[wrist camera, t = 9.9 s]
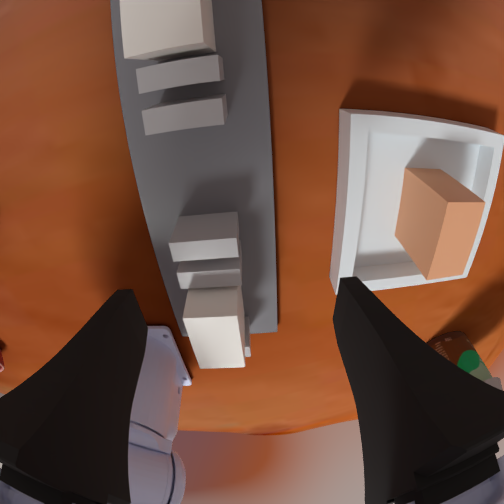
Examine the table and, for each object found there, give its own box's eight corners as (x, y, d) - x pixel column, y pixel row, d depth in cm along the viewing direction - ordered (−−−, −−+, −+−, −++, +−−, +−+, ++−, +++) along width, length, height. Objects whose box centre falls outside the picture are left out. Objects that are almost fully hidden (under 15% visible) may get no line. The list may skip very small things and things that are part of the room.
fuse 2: (244, 313, 23) (245, 367, 18) (205, 315, 23) (200, 368, 19) (238, 260, 20) (237, 315, 16) (193, 263, 20) (182, 318, 16)
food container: (479, 345, 30) (507, 402, 22) (444, 370, 32) (468, 429, 24) (463, 307, 25) (505, 381, 17) (418, 340, 27) (451, 418, 19)
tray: (455, 263, 21) (466, 277, 20) (329, 276, 22) (335, 294, 20) (487, 127, 15) (504, 135, 13) (339, 108, 15) (350, 113, 13)
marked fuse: (428, 232, 19) (462, 274, 15) (394, 235, 19) (426, 280, 15) (440, 169, 16) (485, 202, 12) (404, 167, 16) (447, 202, 12)
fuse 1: (216, 51, 12) (203, 42, 8) (159, 61, 12) (124, 58, 8) (209, -28, 10) (195, -65, 5) (153, -18, 10) (118, -46, 6)
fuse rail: (276, 326, 24) (280, 361, 21) (183, 331, 25) (177, 364, 22) (254, -61, 9) (257, -88, 6) (113, -35, 9) (86, -52, 6)
